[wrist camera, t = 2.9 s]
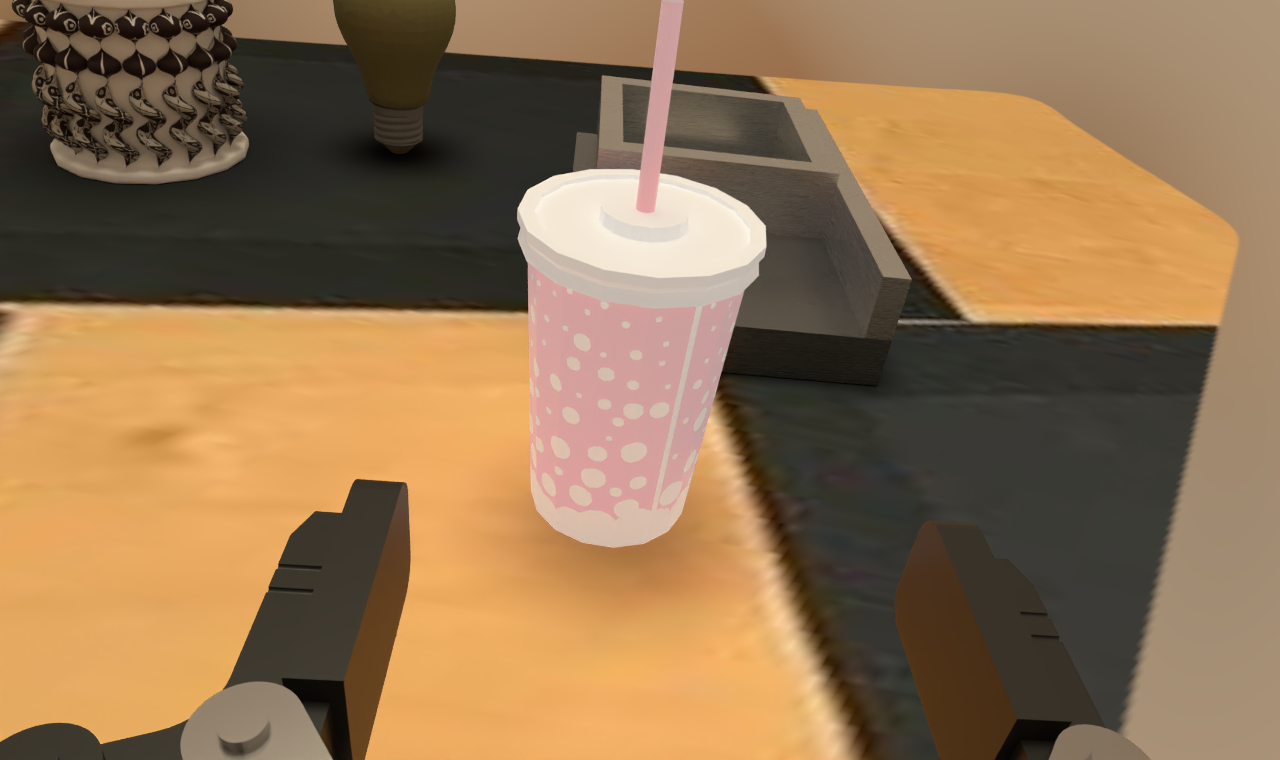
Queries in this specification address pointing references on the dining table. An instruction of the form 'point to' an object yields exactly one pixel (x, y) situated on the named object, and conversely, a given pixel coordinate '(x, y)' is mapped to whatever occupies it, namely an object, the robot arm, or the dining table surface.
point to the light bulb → (397, 59)
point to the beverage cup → (629, 329)
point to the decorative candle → (137, 87)
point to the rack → (775, 224)
